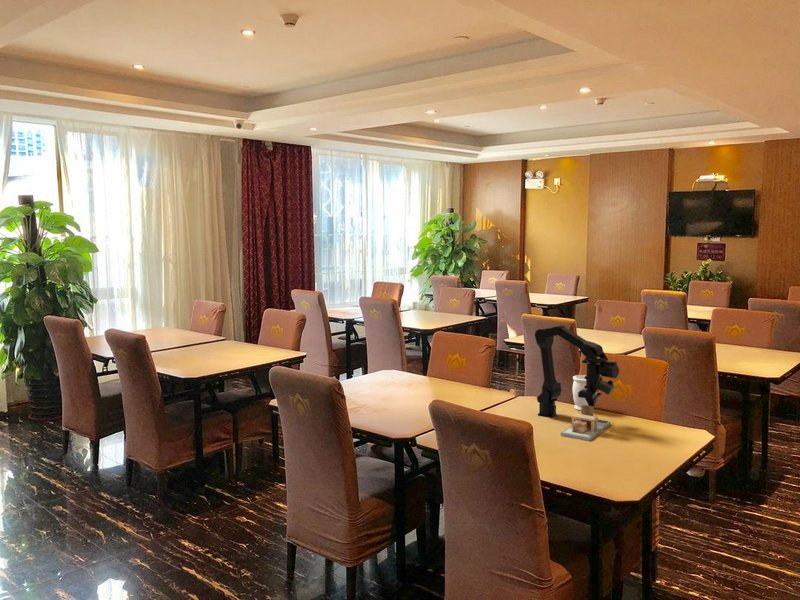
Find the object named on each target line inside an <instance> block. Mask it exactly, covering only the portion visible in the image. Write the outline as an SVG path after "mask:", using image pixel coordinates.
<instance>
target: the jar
mask: <svg viewBox="0 0 800 600" xmlns="http://www.w3.org/2000/svg"><path fill="white" fill-rule="evenodd" d="M585 376H586V374H576V375H574V376H572V380H573V382H572V383H573V384H572V396H573V402H574V404H575V405H574V408H573V409H575V410H577V411H581V408H582V405H587V406H589V405H588V403H587V401H586V399H585V398H581V397H578V392H579V391H581V390H582V389H584V386H586V379H585Z"/></svg>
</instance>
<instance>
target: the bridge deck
mask: <svg viewBox="0 0 800 600" xmlns="http://www.w3.org/2000/svg"><path fill="white" fill-rule="evenodd" d="M576 420H577V421H581V420H587V421H591V428H590V429H589V430H588V431H586V432H585V433H584V434H583V433H578V432H572V430H573V423H574V422H575V421H576ZM610 425H611V421H609V420H605V419H599V417H598V416H595V415H593V416H590V415H584V414H581V413H578V412H576V413H574V414H572V415H571V425H570V426H568V427H566V428H565V429H563V430H562V431H561V432H560V436H561V437H565V438H566V437H567V438H571V439H577V440H582V441H587V442H590V441H592V440H593V439H594V438H595V437H597V436H598V435H599V434H600V433H601V432H603V431H604V430H605V429H607V428H608V427H609V426H610Z"/></svg>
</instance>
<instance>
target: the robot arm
mask: <svg viewBox="0 0 800 600" xmlns="http://www.w3.org/2000/svg"><path fill="white" fill-rule="evenodd" d="M555 336H559V337H560V338H562V339H563V340H565V341H566V342H568V343H570V344H571V345H572V346H574V347H576V348H577V349H579V351H580V353H581V354H582V355H583V356H584V359H583V360H582V361H581V363H583V364H586V370H585V372H586V374H585V375H586V376H585V379H586V386H584V389H582V390H581V391H579V392H578V397H581V398H585V399H586V401H587V403H588V405H589V406H593V407H594V408H595V407H596V405H597V404H596V403H597V400H598V398H599V397H600V396H601V395H603V393H604V394H606V395H610V394H612V393H613V390H614V389H615V384H614V381H613V380H611V379H617V378H618V376H619V373H620V368H619V365H618V364H617V361H614V360H613V361H611V360H609V358H608V357H607V355H606V354H605V352H604V349H603V346H602V345H600V344H598V343H596V342H593V341H588V340H586V339H585V338H583V337H582V336H580V335H578V334H576V333H575V332H574V331H572V330H570V329H569V328H567V327H566V326H565V325H563V324H560V325H555V326H552V327H543V328H537V330H536V331H535V332H534V338H535V341H536V345H537V346H538V347H539V349H540V356H541V357H540V358H541V364H542V373H543V382H542V386H541V393H540V394H539V395H538V396H537V397H536V400H537V403H539V408H538V409H539V413H537V416H541V417H547V418H553V417H554V416H556V415H557V405H556V401H558V398H559V397H560V396H561V395H562V393H561V392H563V390H562V384H561V382H558V381H557V379H556V373H555V367H554V365H555V364H554V359H553V357H554V356H553V350H552V349H553V347H552V346H553V343H554V338H555ZM603 377H606V378H610V380H608V381H605V380H603ZM600 391H601V392H600ZM602 392H603V393H602Z"/></svg>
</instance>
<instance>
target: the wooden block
mask: <svg viewBox="0 0 800 600" xmlns="http://www.w3.org/2000/svg"><path fill="white" fill-rule="evenodd" d="M594 410H595V407H593V406H587V405H582V408H581V410H580V411H581V413H580V414H584V415H590V416H594ZM590 428H591V421H587V420H581V421H577V420H576V421H575V422H574V423H573V430H572V432H578V433H583V434H584V433H585V432H586V431H588V430H589V429H590Z"/></svg>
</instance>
